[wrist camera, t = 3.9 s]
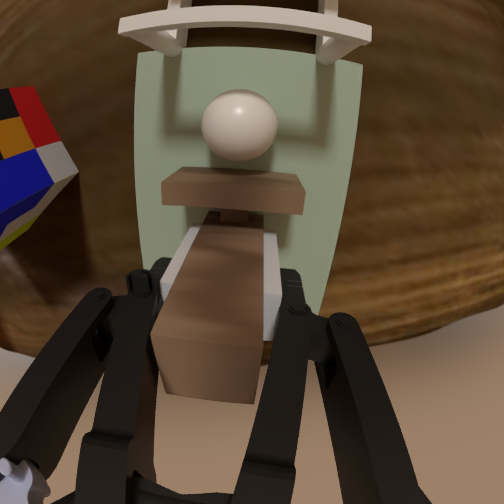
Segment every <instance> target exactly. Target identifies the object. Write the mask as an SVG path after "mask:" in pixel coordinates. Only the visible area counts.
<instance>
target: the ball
mask: <svg viewBox="0 0 504 504" xmlns="http://www.w3.org/2000/svg"><path fill="white" fill-rule="evenodd" d="M277 128H278V121H277V116H276V113H275V110H274V108H273V107H272V105H271V104H270V103H269V101H268V100H267V99H266V98H264V97H263V96H262V95H260V94H258V93H256V92H254V91H251V90H246V89H234V90H229V91H226V92H224V93H221V94H220V95H218V96H217V97H215V98H214V99H213V100H212V101H211V102H210V103H209V105H208V106H207V108H206V109H205V111H204V114H203V117H202V123H201V129H202V134H203V138H204V140H205V142H206V144H207V145H208V147H209V148H210V149H211V150H212V151H213V152H214V153H215V154H217V155H218V156H220V157H222V158H224V159H227V160H231V161H248V160H252V159H254V158H257V157H258V156H260V155H262V154H263V153H264V152H265V151H267V150H268V148H269V147H270V146H271V145H272V143H273V141H274V139H275V137H276V134H277Z"/></svg>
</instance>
